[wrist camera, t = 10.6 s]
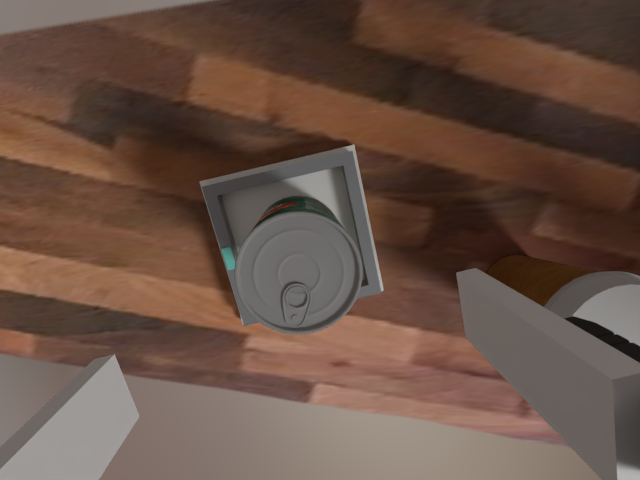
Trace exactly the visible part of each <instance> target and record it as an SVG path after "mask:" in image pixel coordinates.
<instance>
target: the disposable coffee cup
mask: <svg viewBox="0 0 640 480" xmlns="http://www.w3.org/2000/svg"><path fill="white" fill-rule="evenodd" d="M486 274H487V275H489V276H491V277H493V278H494V279H496V280H498V281H500V282H501V283H503V284H505V285H506V286H508V287H510V288H512V289H513V290H515V291H517V292H518V293H520V294H522V295H524V296H525V297H527V298H529V299H531V300H532V301H534V302H536V303H537V304H539V305H541V306H543V307H544V308H546V309H548V310H550V311H551V312H553V313H555V314H556V315H558V316H560V317H562V318H563V319H564V318H568V317H572V316H574V317H578V318H581V319H585V320H588V321H592V322H595V323H597V324H599V325H601V326H603V327H605V328H607V329H609V330H610V331H612V332H614V334H618V335H620V336H622V337H624V338H625V339H627V340H629V342H630V343H635V344H637V345H639V346H640V276H638V275H635V274H632V273H628V272H622V271H605V272H597V271H594V270H589V269H583V268H580V267H574V266H570V265H564V264H560V263H555V262H551V261H546V260H541V259H536V258H531V257H527V256H523V255H510V256H507V257H504V258H502V259H500V260H498V261H497V262H495V263H494V264H493V265H492V266H491V267H490V268H489V270H488V271H487V273H486Z"/></svg>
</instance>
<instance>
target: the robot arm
mask: <svg viewBox="0 0 640 480" xmlns="http://www.w3.org/2000/svg"><path fill="white" fill-rule="evenodd" d="M456 276H457V282H458V289H459V295H460V302H461V309H462V315H463V322H464V328H465V335H466V339H467V340H468V341H469V342H470V343H471V344H472V345H473V346H474V347H475V348H476V349H477V350H478V351H479V352H480V353H481V354H482V355H483V356H484V357H485V358H486V359H487V360H488V361H489V362H490V364H491V365H492V366H493V367H494V368H495V369H496V370H497V371H498V372H499V373H500V374H501V375H502V376H503V377H504V378H505V379H506V380H507V381H508V382H509V383H510V384H511V385H512V386H513V387H514V389H515V390H516V391H517V392H518V393H519V394H520V395H521V396H522V397H523V398H524V399H525V400H526V401H527V402H528V403H529V404H530V405H531V406H532V407H533V408H534V409H535V410H536V411H537V412H538V413H539V415H540V416H541V417H542V418H543V419H544V420H545V421H546V422H547V423H548V424H549V425H550V426H551V427H552V428H553V429H554V430H555V431H556V432H557V433H558V434H559V435H560V436H561V437H562V438H563V440H564V441H565V442H566V443H567V444H568V445H569V446H570V447H571V448H572V449H573V450H574V451H575V452H576V453H577V454H578V455H579V456H580V457H581V458H582V459H583V460H584V461H585V462H586V463H587V465H589V467H590V468H591V469H592V470H593V471H594V472H595V473H596V474H597V475H598V476H599V477H600V478H601V479H602V480H640V346H639V345H637V344H635V343H630V342H629V340H627V339H625V338H624V337H622V336H620V335H618V334H614V332H612V331H610V330H609V329H607V328H605V327H603V326H601V325H599V324H597V323H595V322H592V321H588V320H585V319H581V318H578V317H574V316H572V317H568V318H564V319H563V318H562V317H560V316H558V315H556V314H555V313H553V312H551V311H550V310H548V309H546V308H544V307H543V306H541V305H539V304H537V303H536V302H534V301H532V300H531V299H529V298H527V297H525V296H524V295H522V294H520V293H518V292H517V291H515V290H513V289H512V288H510V287H508V286H506V285H505V284H503V283H501V282H500V281H498V280H496V279H494V278H493V277H491V276H489V275H487V274H486V273H484V272H482V271H481V270H479V269H477V268H473V269H469V270H465V271H460V272H456ZM138 418H139V414H138V412H137V409H136V407H135V404H134V402H133V399H132V397H131V395H130V392H129V389H128V387H127V384H126V382H125V379H124V377H123V374H122V372H121V369H120V367H119V365H118V362H117V360H116V357H115V355H110V356H106V357H102V358H97V359H94V360H93V361H92V362H91V363H90V364H89V365H88V366H87V367H86V368H84V369H83V370H82V371H81V372H80V373H79V374H78V375H77V376H76V377H75V378H74V379H73V380H72V381H71V382H69V383H68V384H67V385H66V386H65V387H64V388H63V389H62V390H61V391H60V392H59V393H58V394H57V395H55V396H54V397H53V398H52V399H51V400H50V401H49V402H48V403H47V404H46V405H45V406H44V407H43V408H42V409H41V410H40V411H38V412H37V413H36V414H35V415H34V416H33V417H32V418H31V419H30V420H29V421H28V422H27V423H26V424H24V425H23V426H22V427H21V428H20V429H19V430H18V431H17V432H16V433H15V434H14V435H13V436H12V437H10V438H9V439H8V440H7V441H6V442H5V443H4V444H3V445H2V446H1V447H0V480H99V478H100V477H101V475H102V474H103V472H104V470H105V469H106V467H107V466H108V464H109V463H110V461H111V460H112V458H113V457H114V455H115V454H116V452H117V450H118V449H119V447H120V446H121V444H122V443H123V441H124V440H125V438H126V436H127V435H128V433H129V432H130V430H131V429H132V427H133V426H134V424H135V423H136V421H137V420H138Z"/></svg>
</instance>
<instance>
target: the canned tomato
mask: <svg viewBox="0 0 640 480" xmlns="http://www.w3.org/2000/svg"><path fill="white" fill-rule="evenodd" d="M234 276H235V285H236V289H237V292H238V295H239V298H240V299H241V301H242V303H243V305H244V307H245V308H246V309H247V310H248V312H249V313H250V314H251V315H252V316H253V317H254V318H255V319H257V320H258V321H259V322H260V323H261V324H263V325H265V326H267V327H269V328H271V329H273V330H276V331H279V332H282V333H288V334H309V333H313V332H317V331H321V330H323V329H325V328H327V327H329V326H331V325H333V324H334V323H336V322H337V321H339V320H340V319H341V318H342V317H343V316H344V315H345V314H346V313H347V312H348V311H349V310H350V308H351V307H352V305H353V304H354V302H355V301H356V299H357V296H358V294H359V291H360V288H361V283H362V278H363V273H362V261H361V257H360V253H359V251H358V248H357V246H356V244H355V242H354V241H353V239H352V238H351V236H350V235H349V234H348V232H347V231H346V230H345V229H344V228H343V226H342V225H341V224H340V222H339V221H338V219H337V218H336V216H335V215H334V213H333V212H332V211H331V209H329V208H328V207H327V206H326V205H325V204H324V203H322V202H320V201H319V200H317V199H314V198H311V197H307V196H301V195H300V196H290V197H286V198H283V199H280V200H278V201H276V202H275V203H273V204H272V205H271V206H269V207H268V208H267V210H266V211H265V212H264V213H263V215H262V216H261V218H260V219H259V221H258V222H257V223H256V225H255V226H254V228H253V229H252V231H251V232H250V233H249V235H248V236H247V237H246V238H245V240H244V242H243V243H242V245H241V247H240V249H239V252H238V255H237V258H236V261H235V270H234Z"/></svg>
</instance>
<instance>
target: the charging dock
mask: <svg viewBox="0 0 640 480" xmlns="http://www.w3.org/2000/svg"><path fill="white" fill-rule="evenodd" d="M199 183H200V186H201V189H202V193H203V196H204V199H205V202H206V206H207V209H208V212H209V216H210V219H211V222H212V225H213V229H214V232H215V235H216V238H217V242H218V245H219V248H220V251H221V255H222V258H223V261H224V264H225V268H226V271H227V274H228V277H229V281H230V284H231V287H232V291H233V294H234V297H235V300H236V304H237V307H238V310H239V313H240V317H241V320H242V323H243V325H244V326H246V325H250V324H254V323H258V322H259V321H258V320H257V319H255V318H254V317H253V316H252V315H251V314H250V313H249V312H248V310H247V309H246V308H245V307H244V305H243V303H242V301H241V299H240V298H239V295H238V292H237V289H236V285H235V276H234V270H235V261H236V258H237V255H238V252H239V249H240V247H241V245H242V243H243V242H244V240H245V238H246V237H247V236H248V235H249V233H250V232H251V231H252V229H253V228H254V226H255V225H256V223H257V222H258V221H259V219H260V218H261V216H262V215H263V213H264V212H265V211H266V210H267V208H268V207H269V206H271V205H272V204H273V203H275V202H276V201H278V200H280V199H283V198H286V197H290V196H300V195H301V196H307V197H311V198H314V199H317V200H319V201H320V202H322V203H324V204H325V205H326V206H327V207H328V208H329V209H331V211H332V212H333V213H334V215H335V216H336V218H337V219H338V221H339V222H340V224H341V225H342V226H343V228H344V229H345V230H346V231H347V232H348V234H349V235H350V236H351V238H352V239H353V241H354V242H355V244H356V246H357V248H358V251H359V253H360V257H361V261H362V273H363V278H362V283H361V288H360V291H359V294H358V296H357V298H361V297H365V296H370V295H374V294H378V293H381V291H384V289H383V284H382V279H381V274H380V269H379V264H378V259H377V254H376V249H375V244H374V240H373V235H372V230H371V225H370V220H369V215H368V210H367V205H366V200H365V195H364V190H363V185H362V180H361V175H360V170H359V165H358V161H357V156H356V151H355V146H354V145H350V146H346V147H342V148H338V149H334V150H329V151H325V152H321V153H317V154H313V155H308V156H304V157H300V158H296V159H292V160H287V161H283V162H279V163H275V164H271V165H266V166H262V167H258V168H254V169H249V170H245V171H241V172H237V173H233V174H228V175H224V176H220V177H216V178H212V179H207V180H203V181H199Z"/></svg>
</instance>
